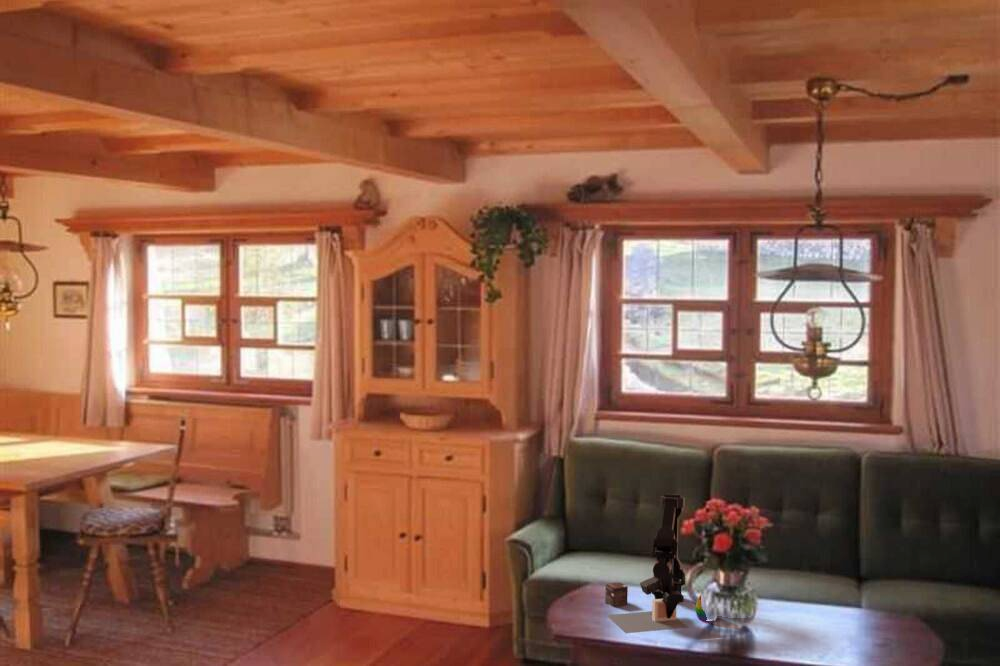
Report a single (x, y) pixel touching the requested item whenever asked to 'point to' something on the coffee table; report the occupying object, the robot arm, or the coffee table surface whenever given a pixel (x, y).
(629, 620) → the mat
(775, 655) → the coffee table surface
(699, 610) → the decorative egg
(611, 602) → the box
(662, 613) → the plaque
